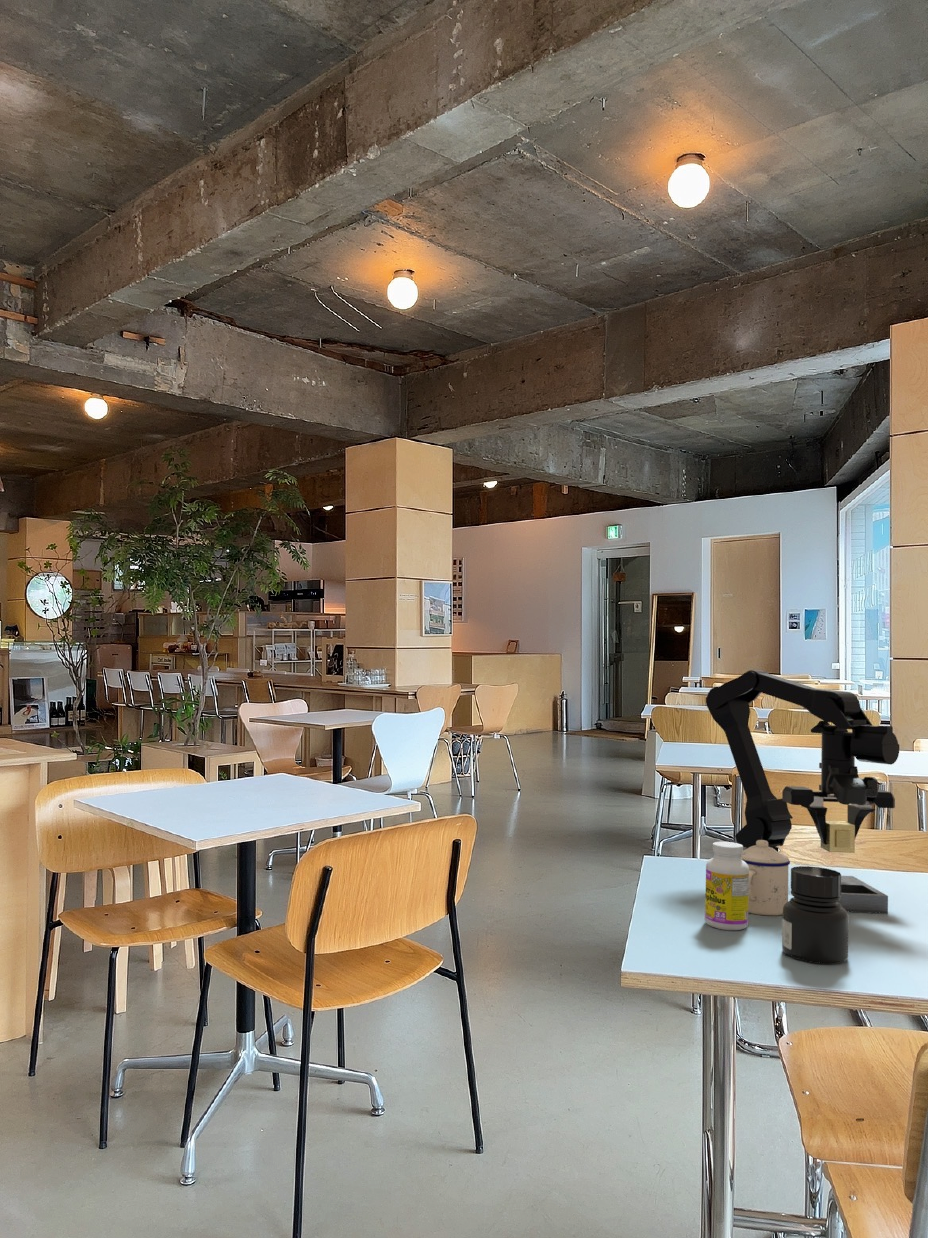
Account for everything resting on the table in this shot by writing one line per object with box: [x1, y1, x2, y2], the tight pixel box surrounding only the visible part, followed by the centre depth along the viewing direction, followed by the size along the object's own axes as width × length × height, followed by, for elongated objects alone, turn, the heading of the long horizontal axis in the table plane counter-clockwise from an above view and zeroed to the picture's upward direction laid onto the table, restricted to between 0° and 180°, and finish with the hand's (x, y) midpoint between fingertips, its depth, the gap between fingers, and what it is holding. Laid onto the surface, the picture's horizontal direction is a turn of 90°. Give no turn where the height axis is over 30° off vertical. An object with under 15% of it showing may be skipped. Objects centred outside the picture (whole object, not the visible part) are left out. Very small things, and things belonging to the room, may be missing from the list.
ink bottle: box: [781, 865, 850, 965], centre depth 131 cm, size 10×9×12 cm
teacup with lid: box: [741, 840, 791, 916], centre depth 155 cm, size 12×9×12 cm
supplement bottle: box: [704, 841, 749, 931], centre depth 145 cm, size 7×7×13 cm
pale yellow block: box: [820, 820, 856, 854], centre depth 168 cm, size 4×6×5 cm
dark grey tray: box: [837, 875, 889, 915], centre depth 163 cm, size 9×15×3 cm, turn 179°
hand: (837, 844), depth 168 cm, fingers closed on pale yellow block, 4 cm apart
